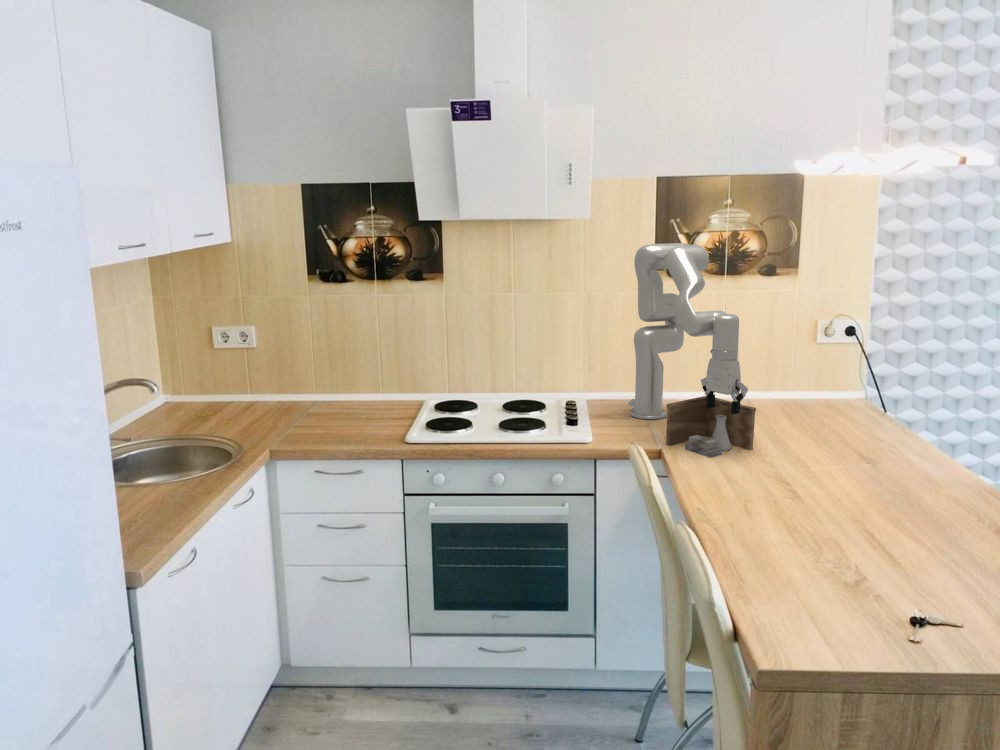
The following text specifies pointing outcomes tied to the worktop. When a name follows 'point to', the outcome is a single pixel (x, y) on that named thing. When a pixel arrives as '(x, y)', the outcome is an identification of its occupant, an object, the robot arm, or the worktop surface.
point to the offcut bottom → (704, 451)
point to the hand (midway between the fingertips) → (722, 410)
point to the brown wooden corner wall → (709, 421)
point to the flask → (721, 434)
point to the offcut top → (703, 442)
